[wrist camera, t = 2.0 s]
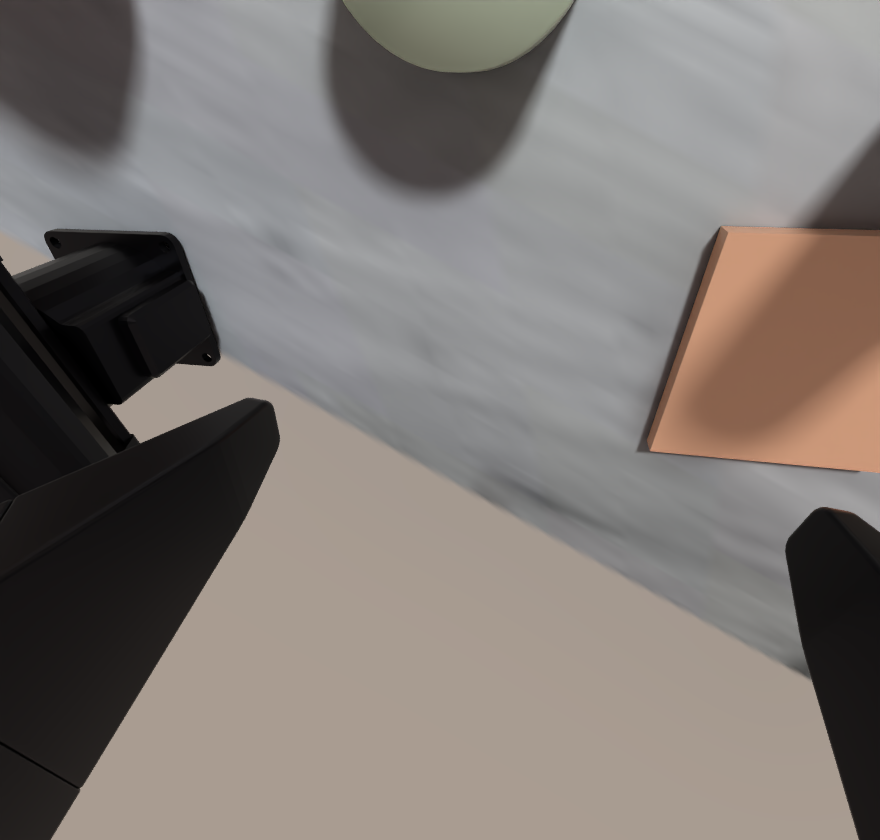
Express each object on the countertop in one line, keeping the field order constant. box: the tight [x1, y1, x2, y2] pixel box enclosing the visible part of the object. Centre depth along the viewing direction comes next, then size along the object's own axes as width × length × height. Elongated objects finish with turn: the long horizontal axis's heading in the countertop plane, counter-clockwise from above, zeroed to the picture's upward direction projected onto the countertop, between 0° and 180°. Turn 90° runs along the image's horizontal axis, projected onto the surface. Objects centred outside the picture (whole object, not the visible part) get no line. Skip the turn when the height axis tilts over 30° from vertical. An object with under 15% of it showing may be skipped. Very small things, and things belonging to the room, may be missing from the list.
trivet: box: [647, 226, 880, 473], centre depth 18 cm, size 10×10×1 cm
